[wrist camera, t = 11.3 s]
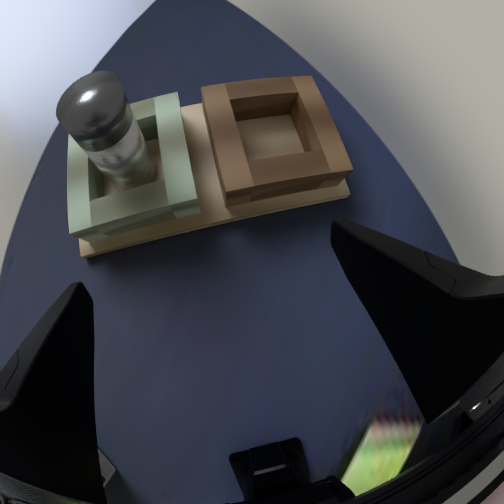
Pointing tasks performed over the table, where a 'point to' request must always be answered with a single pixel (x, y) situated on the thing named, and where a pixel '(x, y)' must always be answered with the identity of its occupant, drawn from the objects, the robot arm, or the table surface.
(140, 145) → the shiny grey rounded piece
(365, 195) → the table surface
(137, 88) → the table surface
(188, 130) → the wooden desk organizer
